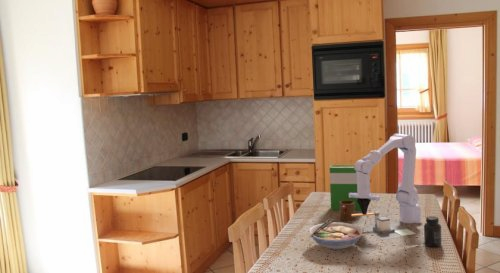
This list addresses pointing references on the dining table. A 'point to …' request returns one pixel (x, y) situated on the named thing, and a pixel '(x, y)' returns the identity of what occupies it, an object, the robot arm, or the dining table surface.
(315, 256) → the dining table surface
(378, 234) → the socket board
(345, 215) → the mug
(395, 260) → the dining table surface
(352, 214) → the orange flat bar
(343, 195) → the green cereal box
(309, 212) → the dining table surface
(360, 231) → the ramen bowl
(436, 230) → the supplement bottle
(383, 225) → the plug
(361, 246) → the dining table surface
